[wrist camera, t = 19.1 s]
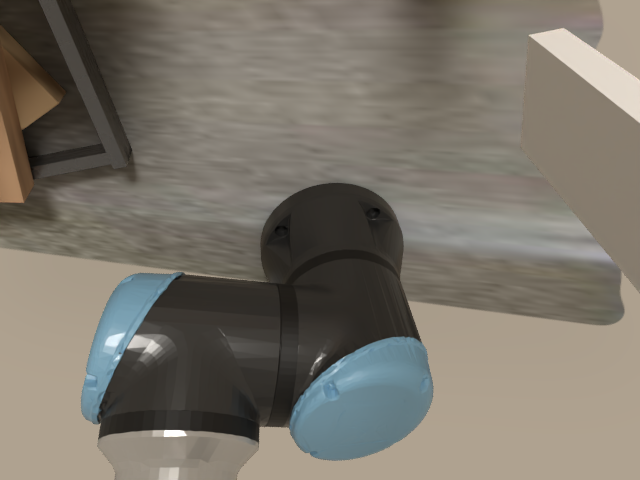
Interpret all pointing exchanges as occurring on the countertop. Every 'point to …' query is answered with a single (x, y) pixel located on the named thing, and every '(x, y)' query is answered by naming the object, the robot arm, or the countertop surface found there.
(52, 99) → the offcut lower
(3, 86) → the offcut upper
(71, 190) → the countertop surface
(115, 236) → the countertop surface
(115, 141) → the stand
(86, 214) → the countertop surface
